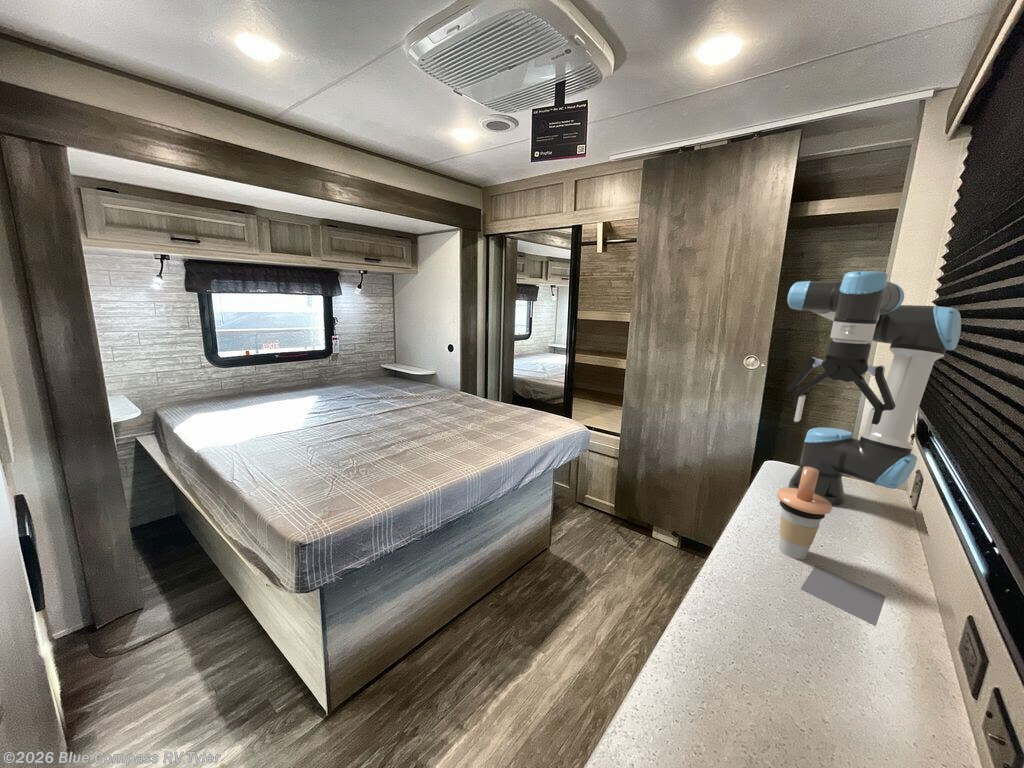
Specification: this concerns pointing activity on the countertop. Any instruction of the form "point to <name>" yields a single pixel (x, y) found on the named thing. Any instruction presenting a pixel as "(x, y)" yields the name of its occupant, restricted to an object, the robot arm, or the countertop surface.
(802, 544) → the coffee cup
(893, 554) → the countertop surface
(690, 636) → the countertop surface
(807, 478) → the lid
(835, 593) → the mat
